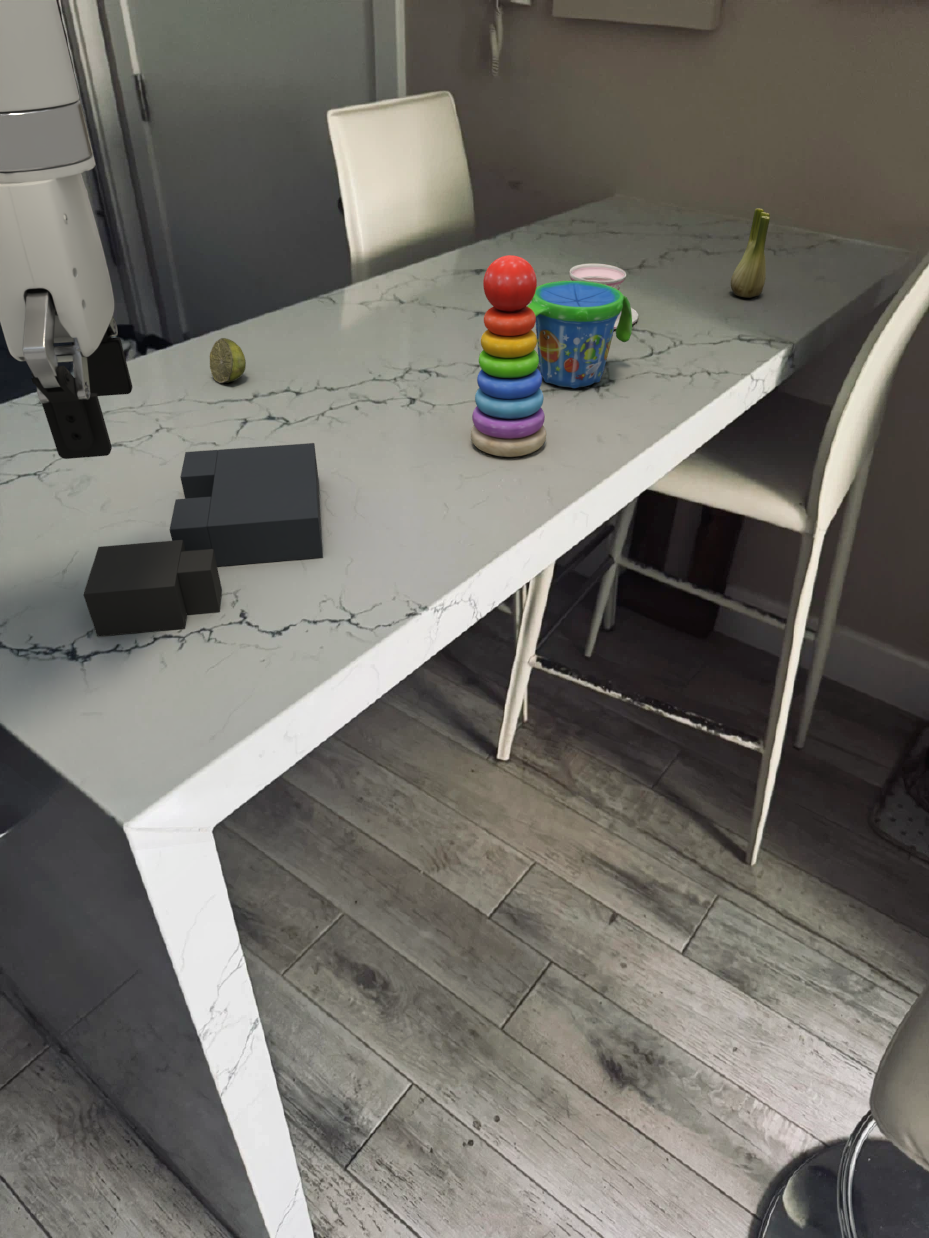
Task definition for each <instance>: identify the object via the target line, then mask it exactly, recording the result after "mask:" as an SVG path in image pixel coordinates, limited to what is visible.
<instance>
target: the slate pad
mask: <svg viewBox="0 0 929 1238" xmlns="http://www.w3.org/2000/svg"><path fill="white" fill-rule="evenodd" d="M318 471H319V469H318V462H317V453H316V445H315V442H307V443H296V444H295V443H294V444H281V445H280V444H279V445H266V446H252V447H237V448H222V449H208V450H207V449H206V450H195V451H194V450H193V451H185V453H184V457H183V463H182V466H181V472H180V476H179V478H180V482H181V483H180V484H181V486H182V487H181V488H182V491H183V495H184V496H183V497H184V498H176V499H175V501H174V506H173V509H172V510H173V511H172V515H171V519H170V520H171V521H170V525H169V533H170V537H171V541H174V540H183V543H184V547H185V551H195V550H207V549H213V550H214V554H215V559H216V564H217V567H226V566H227V567H228V566H239V565H253V564H261V563H262V564H263V563H274V562H286V561H296V560H297V561H298V560H310V559H320V558H324V553H323V552H324V551H323V536H322V535H323V534H322V517H321V516H322V515H321V514H322V513H321V498H320V480H319V472H318Z"/></svg>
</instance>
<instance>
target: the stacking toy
mask: <svg viewBox="0 0 929 1238" xmlns="http://www.w3.org/2000/svg"><path fill="white" fill-rule="evenodd" d="M537 279H538V278H537V275H536V271H535V270H534V267H533V266H532V264H531V263H529V261H527V260H526V259H524V258H523V257H521V256H517V255H513V254H512V255H511V254H510V255H503V256H501V257H500V256H499V257H498V258H497V259H495V260H494V261H492V262H491V263H490V265H488V267H487V268H486V270H485V273H484V276H483V279H482V280H483V282H482V286H483V293H484V295H485V297H486V299H487V301H488V302H489V304H490V305H491V307H490V308H488V309H487V310H486V311H485V313H484V316H483V324H484V326H485V328H486V330H485V331H484V332H483V333H482V334H481V337H480V345H481V348H482V351H481V352H480V353H479V356H478V364H479V365H478V366H479V367H480V370H479V372H478V374H477V377H476V382H477V386H478V389H477V390H476V392H475V395H474V402H475V405H476V406H475V408H474V409H473V411H472V414H471V416H472V417H471V418H472V424H473V425H472V427H471V430H470V439H471V442H472V443H473V445H474V446H475V447H476V448H477V449H478V450H480V451H482V452H483V453H485V454H489V455H492V456H497V457H504V458H514V457H522V456H526V455H530V454H532V453H534V452H536V451H538V450H539V449H541V448H542V447H543V445H544V444H545V442H546V439H547V430H546V427H545V426H544V424H545V421H546V420H545V419H546V418H545V416H546V415H545V412H544V409H543V408H542V406H543V404H544V393H543V391H542V389H541V386H542V382H543V377H542V376H541V373H540V369H538V366H539V357H538V351H536V347H537V346H538V345H537V334H536V332H535V331H534V330H533V328H534V327H535V326H536V316H535V313H534V312H533V310H532V309H530V308H529V307H527V306H528V305H529V304H530V303H531V302H532V299H533V297H534V295H535V292H536V287H538V285H537V283H538V281H537Z"/></svg>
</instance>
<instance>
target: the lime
mask: <svg viewBox="0 0 929 1238" xmlns="http://www.w3.org/2000/svg"><path fill="white" fill-rule="evenodd" d="M246 365H247V361H246V357H245V354H244V351H243V350H242V348H241V347H240V345H239V344H237V342H235V341H234V340H232V339H229V338H226V337H221V338H218V339H217V340H216V341H215V342H214V344H213V345H212V348H211V350H210V353H209V370H210V374H211V375H212V378H213V379H214V381H216V382H217V383H219V384H228V383H233V382H234V381H236V380H238V379H239V378H241V377H242V375H243V374H244V373H245V371H246V367H247V366H246Z"/></svg>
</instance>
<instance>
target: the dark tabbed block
mask: <svg viewBox="0 0 929 1238" xmlns="http://www.w3.org/2000/svg"><path fill="white" fill-rule="evenodd" d="M93 559H94V560H93V563H92V566H91V568H90V572H89V576H88V578H87V582H86V585H85V587H84V591H83V598H84V600H85V604H86V607H87V610H88V613H89V616H90V620H91V622H92V625H93V628H94V631H95V634H96V637H106V636H107V637H108V636H116V635H117V636H118V635H129V634H139V633H149V632H150V633H151V632H160V631H171V630H181V629H182V630H183V629H186V626H187V625H186V623H187V618H188V615H197V614H209V613H219V612H221V603H222V602H221V601H222V592H223V588H222V583H221V579H220V574H219V569H218V566H217V564H216V559H215V554H214V550H213V549H207V550H195V551H185V547H184V543H183V540H174V541H172V540H164V541H163V540H162V541H152V542H140V543H128V544H127V543H126V544H116V545H103V546H98V547H97V549H96V553H95V555H94V558H93Z"/></svg>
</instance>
